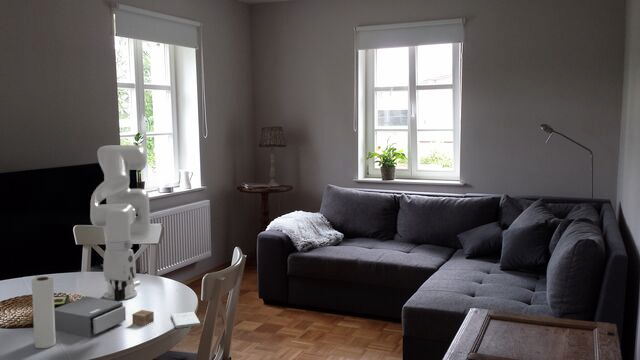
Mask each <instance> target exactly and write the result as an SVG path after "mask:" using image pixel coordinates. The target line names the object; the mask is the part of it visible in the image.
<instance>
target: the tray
mask: <svg viewBox="0 0 640 360" xmlns="http://www.w3.org/2000/svg"><path fill="white" fill-rule="evenodd" d="M102 314H104V313H102ZM126 316H127V314H126V306H124V305H123V306H122V307H120V308H118V309H115V310H113V311H111V312H108V313H106V314H104V315H101V316H99V317H97V318H94V319H93V324H94V325H91V333H95V334H96V335H98V334H100V333H101V331H102V332H104V331H106V330H109V329H111V328H113V327H115V326H117V325H119V324H121V323H123V322H125V321H126V319H127V318H126ZM118 323H119V324H118ZM116 324H117V325H116ZM114 325H115V326H114ZM112 326H113V327H112ZM110 327H111V328H110ZM108 328H109V329H108ZM105 329H106V330H105ZM103 330H104V331H103ZM99 332H100V333H99ZM97 333H98V334H97Z"/></svg>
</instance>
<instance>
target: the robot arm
mask: <svg viewBox="0 0 640 360" xmlns="http://www.w3.org/2000/svg"><path fill="white" fill-rule="evenodd" d="M96 154H97V160H98V163H99V166H100V167H101V170H102V172H103V175H104V176H103V179H104V180H103V181H102V182H100V184H99V185H98V186H96V189H95V190H94V191H93V193H92V195H91V199H90V211H89V213H90V214H89V217H90V218H89V219H90V223H91V224H92V225H93V226H94V227H97V228H103V235H104V242H105V250H104V255H103V270H102V271H103V277H104V280H105V281H106V283H107V291H105V292H104V293H103V299H106V300H112V301H118V302H123V300H130V299H132V298H134V297H136V296H138V295H137V294H138V290H136V289H135V288H136V287H137V286H140V285H141V282H140V281H139V280H135V281H134V279H135V278H136V277H137V268H136V267H137V266H136V258H135V253H134V250H133V249H131V248H133V243H131V241H144V240H147V239H148V238H149V237H150V235H151V214H150V197H149V193H148V191H147V190H146V189H144V188H130V183H131V180H130V178H131V177H130V171H131V170H137V171H138V170H139V171H140V170H144V169H145V168H146V165H147V152H146V149H145V147H144V146H143V145H140V144H139V145H138V144H134V145H133V144H130V145H129V144H128V145H127V144H121V145H119V144H118V145H117V144H116V145H115V144H113V145H104V146H100V147H99V148H98V149H97V153H96ZM105 199H106V201H105V202H106V204H105V203H104V204H100V203H102V201H104V200H105ZM137 215H138V216H137Z"/></svg>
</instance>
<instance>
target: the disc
mask: <svg viewBox="0 0 640 360" xmlns="http://www.w3.org/2000/svg"><path fill="white" fill-rule="evenodd" d="M101 315H104V314H102V313H101V314H99V315H97V316H94V317H92V318H90V319H91V325H94V324H93V319H94V318H97V317H99V316H101Z"/></svg>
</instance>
